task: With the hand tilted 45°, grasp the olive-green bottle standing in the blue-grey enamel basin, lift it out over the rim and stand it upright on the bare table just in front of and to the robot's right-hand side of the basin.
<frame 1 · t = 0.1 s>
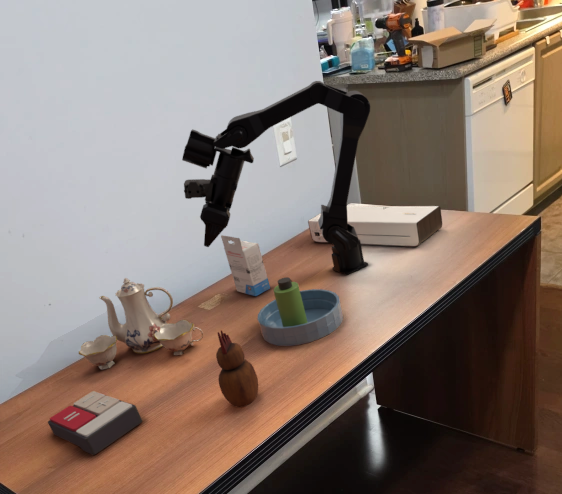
hand: (207, 240, 153), 15 cm above the table, tool tilted 35°, fingers open, 9 cm apart
ink box: (253, 290, 160), on the table
wooden figurine: (245, 402, 116), on the table
calculator: (98, 429, 120), on the table
chinaware: (147, 351, 145), on the table
laminator: (373, 237, 171), on the table
green bottle: (297, 334, 132), resting on basin
basin: (302, 327, 136), on the table
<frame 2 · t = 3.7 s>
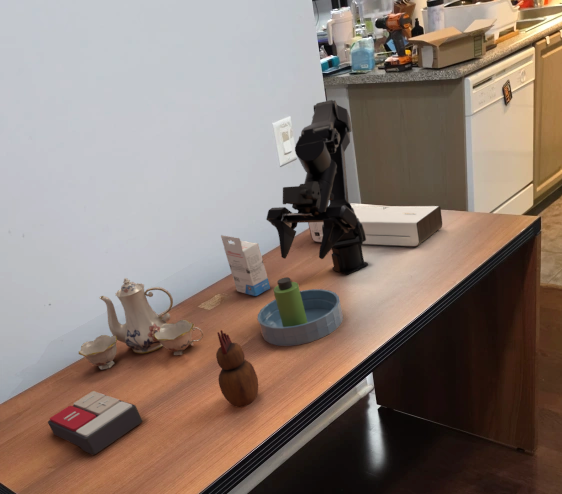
hand: (301, 258, 131), 14 cm above the table, tool tilted 45°, fingers open, 9 cm apart
nothing on the table moved.
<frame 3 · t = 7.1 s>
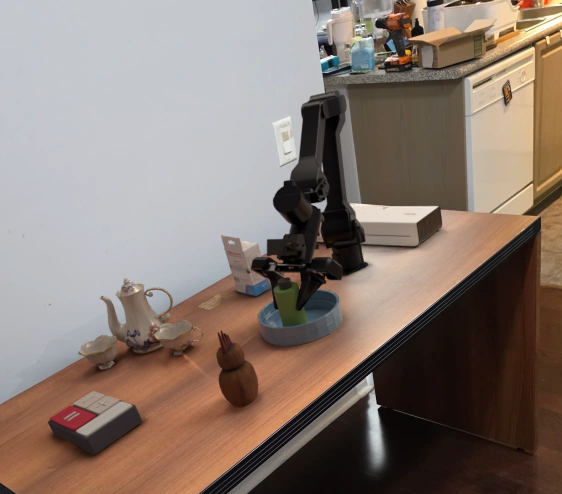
hand: (286, 309, 128), 7 cm above the table, tool tilted 45°, fingers closed on green bottle, 5 cm apart
green bottle: (297, 334, 132), point 1 cm above the table, touching basin, gripper
everything else where it was.
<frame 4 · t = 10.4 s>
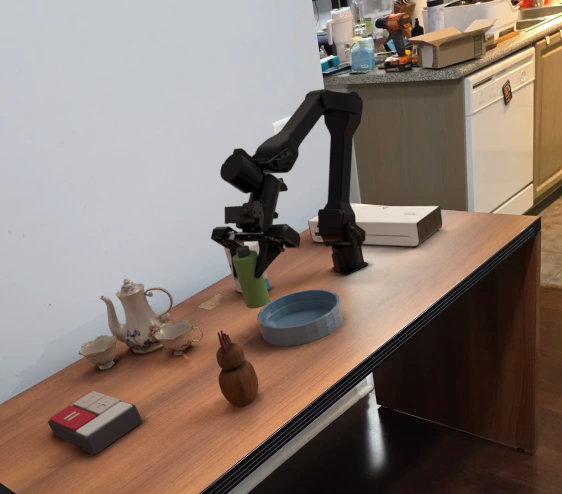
hand: (246, 277, 129), 13 cm above the table, tool tilted 45°, fingers closed on green bottle, 5 cm apart
green bottle: (258, 302, 133), point 7 cm above the table, touching gripper
everything else where it was.
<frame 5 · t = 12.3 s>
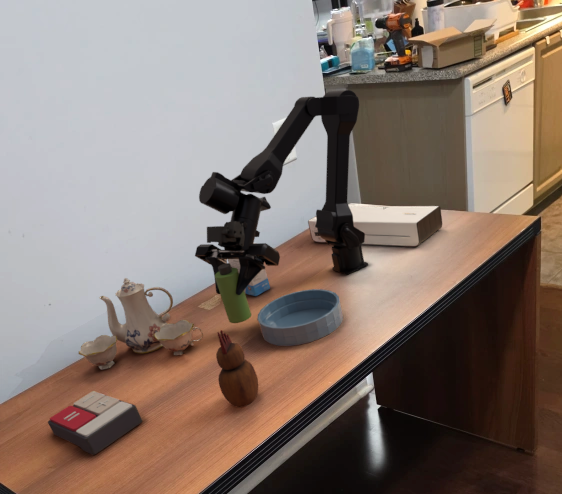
hand: (227, 294, 135), 10 cm above the table, tool tilted 45°, fingers closed on green bottle, 5 cm apart
green bottle: (240, 317, 139), point 3 cm above the table, touching gripper
everything else where it was.
when the fingers open (6 cm above the table, at t = 13.8 s): green bottle stays where it is, on the table.
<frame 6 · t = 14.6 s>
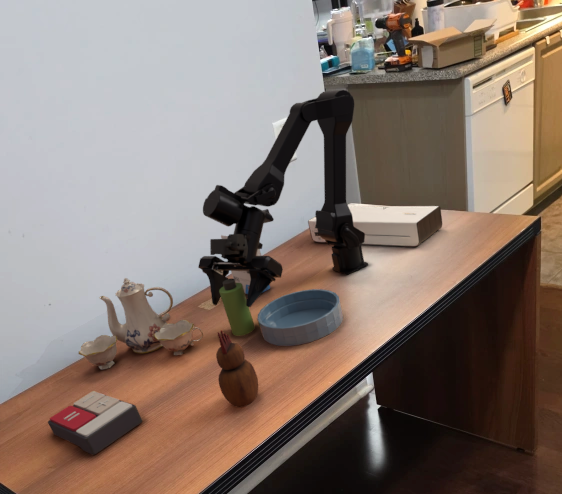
hand: (231, 305, 136), 7 cm above the table, tool tilted 45°, fingers open, 9 cm apart
green bottle: (244, 331, 141), on the table
everything else where it was.
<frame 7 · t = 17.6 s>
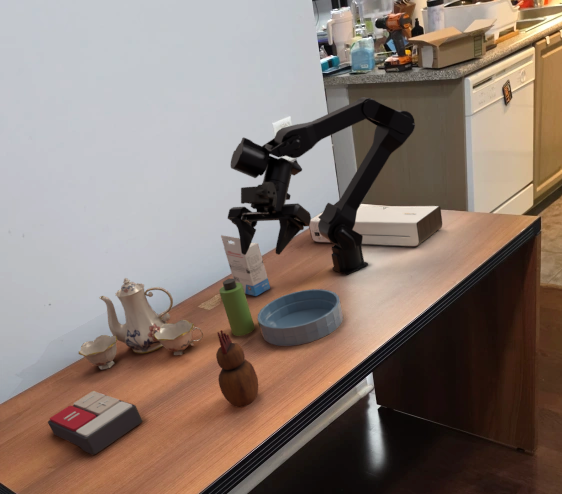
hand: (260, 254, 140), 13 cm above the table, tool tilted 45°, fingers open, 9 cm apart
nothing on the table moved.
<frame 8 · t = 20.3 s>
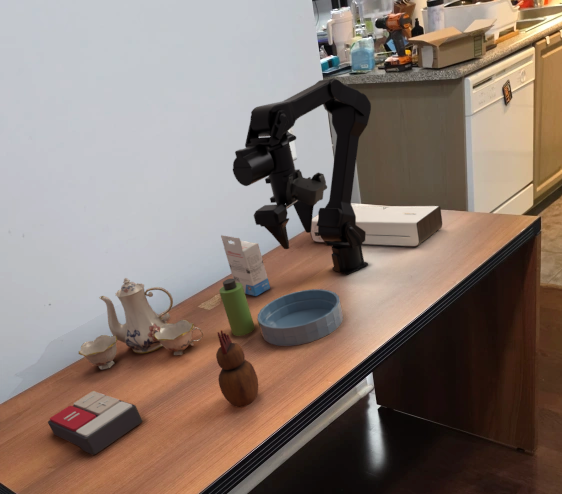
hand: (298, 240, 143), 13 cm above the table, tool pointing down, fingers open, 9 cm apart
nothing on the table moved.
at the end: green bottle inside the target area (0.2 cm from its centre), on the table; green bottle tilted 0°; the gripper is holding nothing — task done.
